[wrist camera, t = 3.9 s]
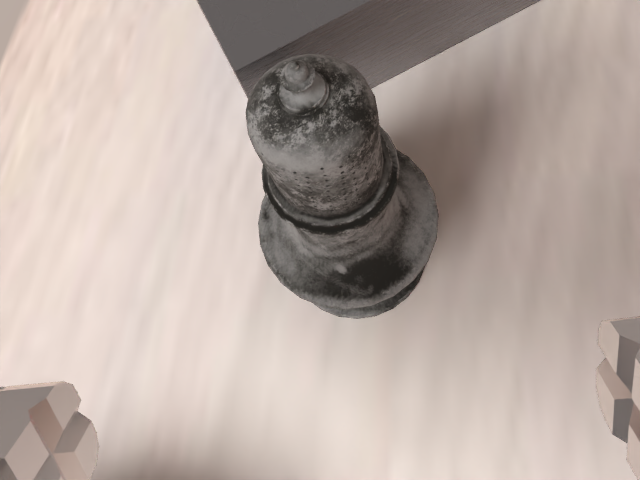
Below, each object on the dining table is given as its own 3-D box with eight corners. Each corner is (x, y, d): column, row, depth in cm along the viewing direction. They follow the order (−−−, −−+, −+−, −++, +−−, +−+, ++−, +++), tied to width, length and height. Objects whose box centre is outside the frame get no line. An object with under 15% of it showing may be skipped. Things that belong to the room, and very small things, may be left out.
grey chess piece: (329, 157, 23) (247, -98, 12) (462, 219, 21) (516, -8, 10) (254, 280, 22) (82, 130, 11) (387, 356, 20) (352, 275, 9)
